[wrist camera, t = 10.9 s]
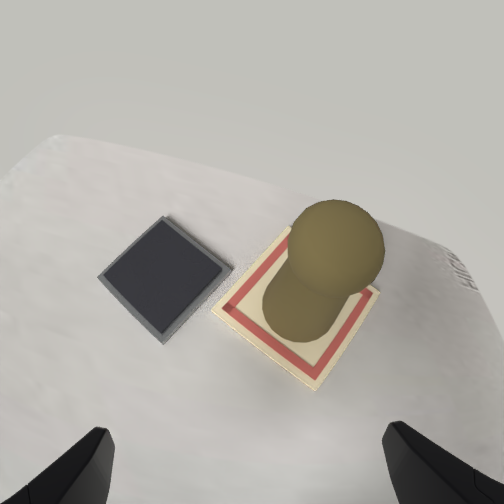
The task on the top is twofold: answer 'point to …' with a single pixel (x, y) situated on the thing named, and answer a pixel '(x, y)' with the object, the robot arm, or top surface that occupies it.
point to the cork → (322, 269)
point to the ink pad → (163, 278)
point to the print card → (266, 340)
